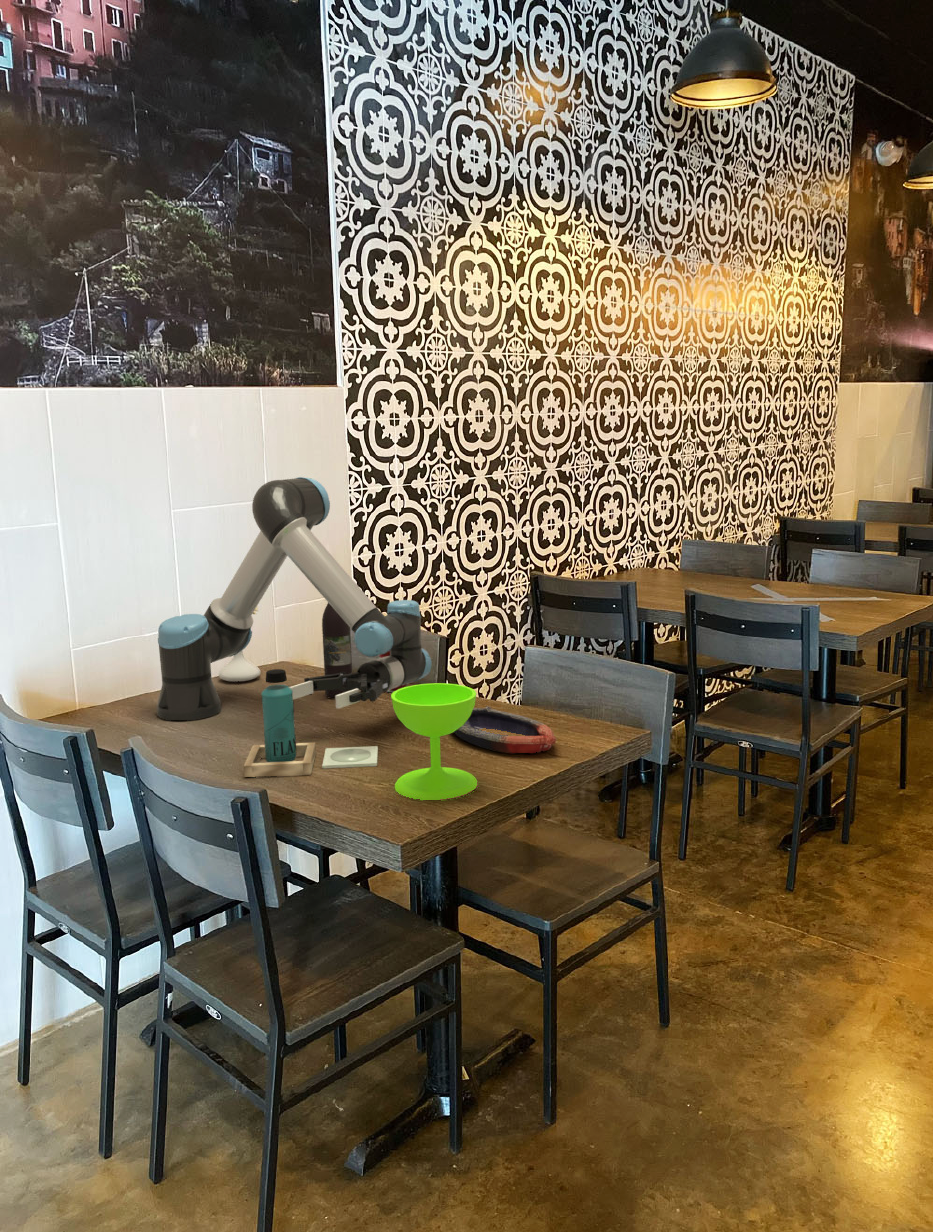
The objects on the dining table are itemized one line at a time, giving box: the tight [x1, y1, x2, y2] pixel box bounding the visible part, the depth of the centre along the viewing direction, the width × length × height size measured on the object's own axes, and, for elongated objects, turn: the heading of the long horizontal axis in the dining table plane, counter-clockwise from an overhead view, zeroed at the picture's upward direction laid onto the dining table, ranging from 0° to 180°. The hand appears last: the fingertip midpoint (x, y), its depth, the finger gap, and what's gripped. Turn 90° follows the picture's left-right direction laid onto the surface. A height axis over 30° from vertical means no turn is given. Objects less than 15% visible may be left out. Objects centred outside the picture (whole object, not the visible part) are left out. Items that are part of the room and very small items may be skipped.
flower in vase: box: [218, 606, 262, 683], centre depth 269 cm, size 13×11×25 cm
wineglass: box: [390, 682, 478, 801], centre depth 185 cm, size 16×16×18 cm
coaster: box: [321, 745, 379, 769], centre depth 203 cm, size 11×11×1 cm
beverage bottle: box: [260, 668, 297, 762], centre depth 198 cm, size 6×7×20 cm
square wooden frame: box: [243, 742, 317, 778], centre depth 200 cm, size 13×13×2 cm
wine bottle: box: [321, 602, 353, 700], centre depth 249 cm, size 7×7×30 cm
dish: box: [453, 706, 557, 754], centre depth 212 cm, size 16×31×5 cm, turn 39°
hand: (313, 697), depth 205 cm, fingers open, 13 cm apart
